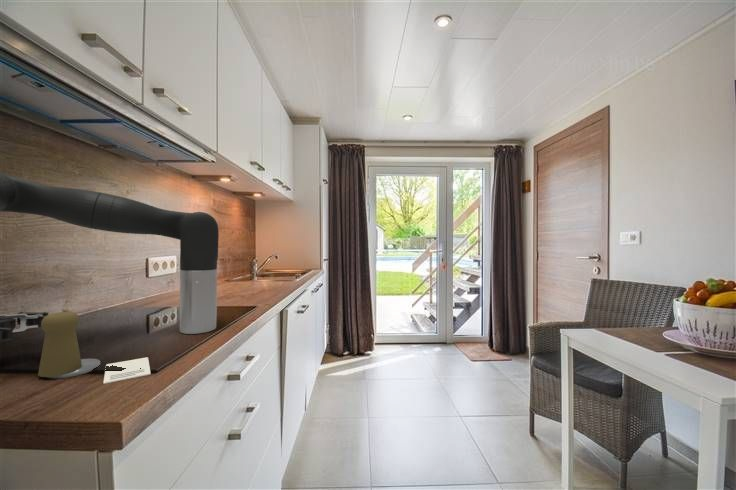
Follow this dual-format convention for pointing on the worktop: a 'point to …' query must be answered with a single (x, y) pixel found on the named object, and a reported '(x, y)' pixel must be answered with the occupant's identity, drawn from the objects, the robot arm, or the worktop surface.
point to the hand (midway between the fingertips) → (35, 327)
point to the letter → (128, 370)
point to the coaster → (86, 367)
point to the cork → (59, 345)
